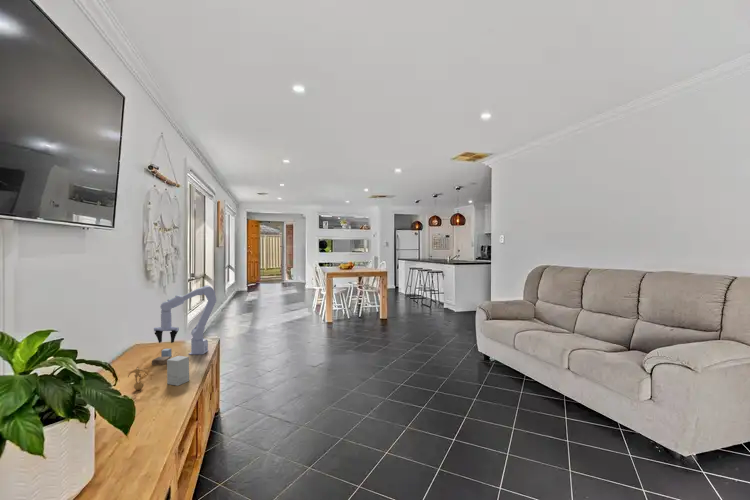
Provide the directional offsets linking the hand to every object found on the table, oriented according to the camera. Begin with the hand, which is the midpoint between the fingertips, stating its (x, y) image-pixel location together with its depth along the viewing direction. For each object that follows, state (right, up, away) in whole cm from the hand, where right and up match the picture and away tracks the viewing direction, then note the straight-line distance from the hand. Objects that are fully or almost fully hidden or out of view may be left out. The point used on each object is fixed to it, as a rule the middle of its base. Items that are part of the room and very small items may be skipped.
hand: (166, 342), depth 224 cm
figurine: (+16, -11, -51) cm, 54 cm away
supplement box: (+30, -10, -40) cm, 51 cm away
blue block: (0, -10, 0) cm, 10 cm away
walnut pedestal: (+3, -10, -10) cm, 14 cm away
